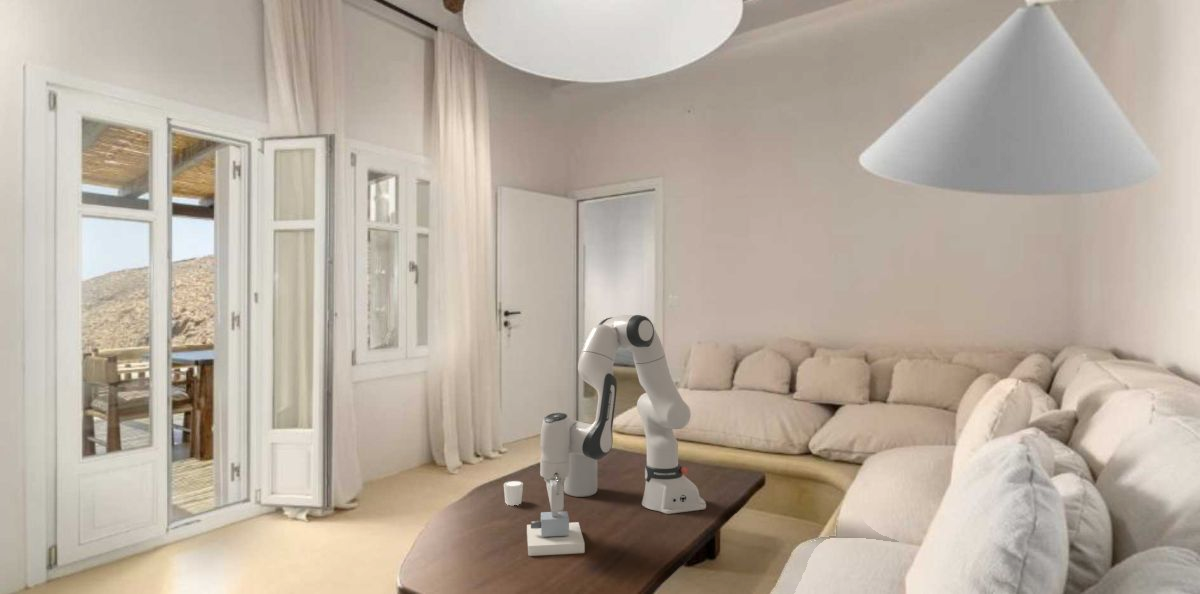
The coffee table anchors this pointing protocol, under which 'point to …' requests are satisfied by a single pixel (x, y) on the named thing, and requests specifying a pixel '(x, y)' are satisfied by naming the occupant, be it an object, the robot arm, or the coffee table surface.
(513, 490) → the shot glass
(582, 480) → the cylinder vase
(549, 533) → the plug
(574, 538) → the socket plate
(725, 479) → the coffee table surface
